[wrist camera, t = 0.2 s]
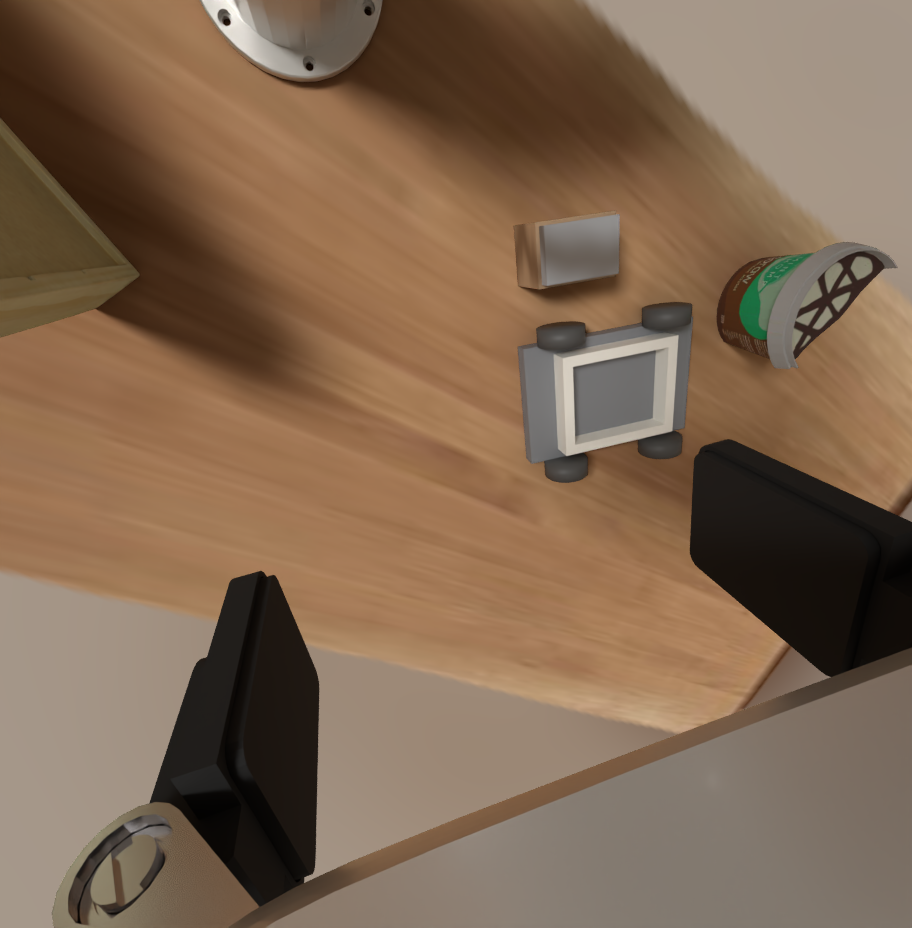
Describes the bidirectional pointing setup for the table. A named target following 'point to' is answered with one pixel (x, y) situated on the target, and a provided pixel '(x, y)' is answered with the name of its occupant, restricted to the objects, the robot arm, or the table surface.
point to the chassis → (606, 389)
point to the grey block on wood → (567, 250)
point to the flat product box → (48, 247)
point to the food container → (794, 298)
